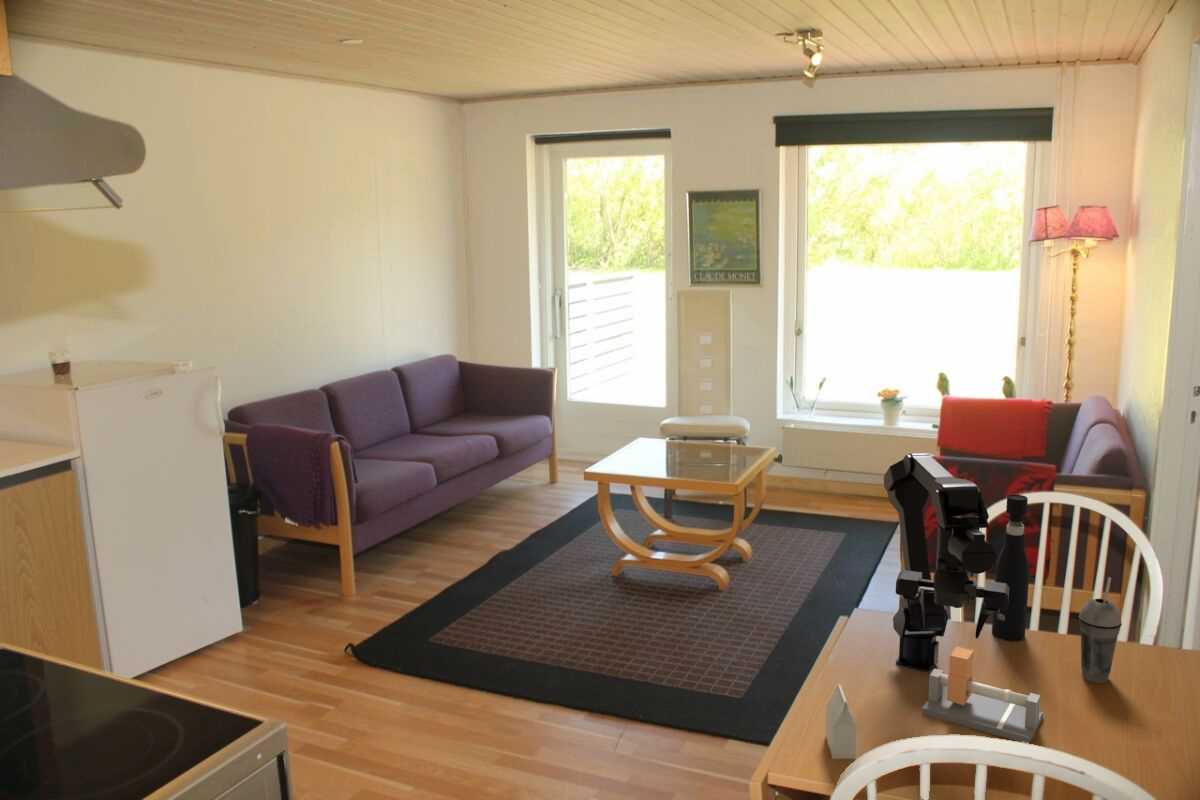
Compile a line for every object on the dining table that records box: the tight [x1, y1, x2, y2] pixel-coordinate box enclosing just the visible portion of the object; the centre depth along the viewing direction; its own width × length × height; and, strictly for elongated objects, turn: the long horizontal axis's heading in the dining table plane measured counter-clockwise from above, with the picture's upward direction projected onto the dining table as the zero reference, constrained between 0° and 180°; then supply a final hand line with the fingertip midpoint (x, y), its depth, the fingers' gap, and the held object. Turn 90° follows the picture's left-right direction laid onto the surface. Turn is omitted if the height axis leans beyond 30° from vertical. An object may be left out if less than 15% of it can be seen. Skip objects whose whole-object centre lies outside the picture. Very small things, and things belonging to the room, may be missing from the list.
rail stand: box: [921, 668, 1044, 744], centre depth 172 cm, size 18×10×6 cm, turn 55°
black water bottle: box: [991, 493, 1030, 642], centre depth 200 cm, size 6×6×30 cm
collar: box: [947, 646, 975, 705], centre depth 173 cm, size 3×5×8 cm, turn 144°
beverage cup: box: [1078, 576, 1122, 684], centre depth 183 cm, size 7×7×20 cm
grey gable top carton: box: [825, 683, 857, 760], centre depth 163 cm, size 4×7×10 cm, turn 177°
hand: (949, 633), depth 176 cm, fingers open, 9 cm apart
